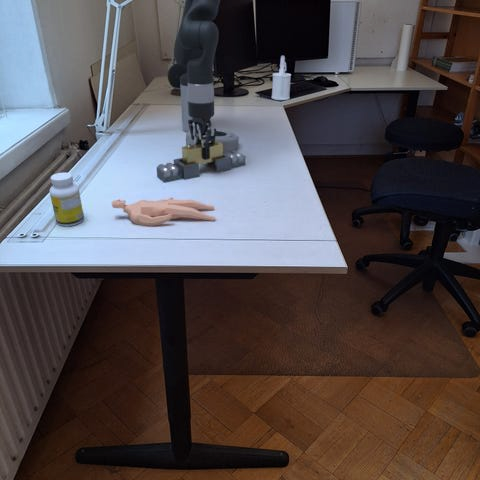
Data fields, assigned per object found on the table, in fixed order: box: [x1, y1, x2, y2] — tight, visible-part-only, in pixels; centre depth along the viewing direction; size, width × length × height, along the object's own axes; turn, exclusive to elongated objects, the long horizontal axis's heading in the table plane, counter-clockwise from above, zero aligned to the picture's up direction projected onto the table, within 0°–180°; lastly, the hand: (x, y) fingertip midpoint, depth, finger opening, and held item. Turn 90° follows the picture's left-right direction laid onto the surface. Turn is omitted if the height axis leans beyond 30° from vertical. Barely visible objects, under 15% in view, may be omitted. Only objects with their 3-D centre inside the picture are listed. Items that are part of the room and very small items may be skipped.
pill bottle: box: [49, 172, 85, 227], centre depth 104 cm, size 6×6×12 cm
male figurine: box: [111, 197, 216, 227], centre depth 109 cm, size 11×5×25 cm
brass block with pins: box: [181, 140, 223, 165], centre depth 133 cm, size 4×12×6 cm, turn 122°
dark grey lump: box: [167, 62, 187, 97], centre depth 227 cm, size 13×13×15 cm
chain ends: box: [156, 150, 246, 183], centre depth 135 cm, size 7×28×4 cm, turn 122°
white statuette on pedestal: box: [271, 55, 292, 101], centre depth 219 cm, size 10×9×20 cm
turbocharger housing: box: [185, 129, 240, 153], centre depth 154 cm, size 17×6×15 cm
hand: (202, 156), depth 134 cm, fingers closed on brass block with pins, 3 cm apart
